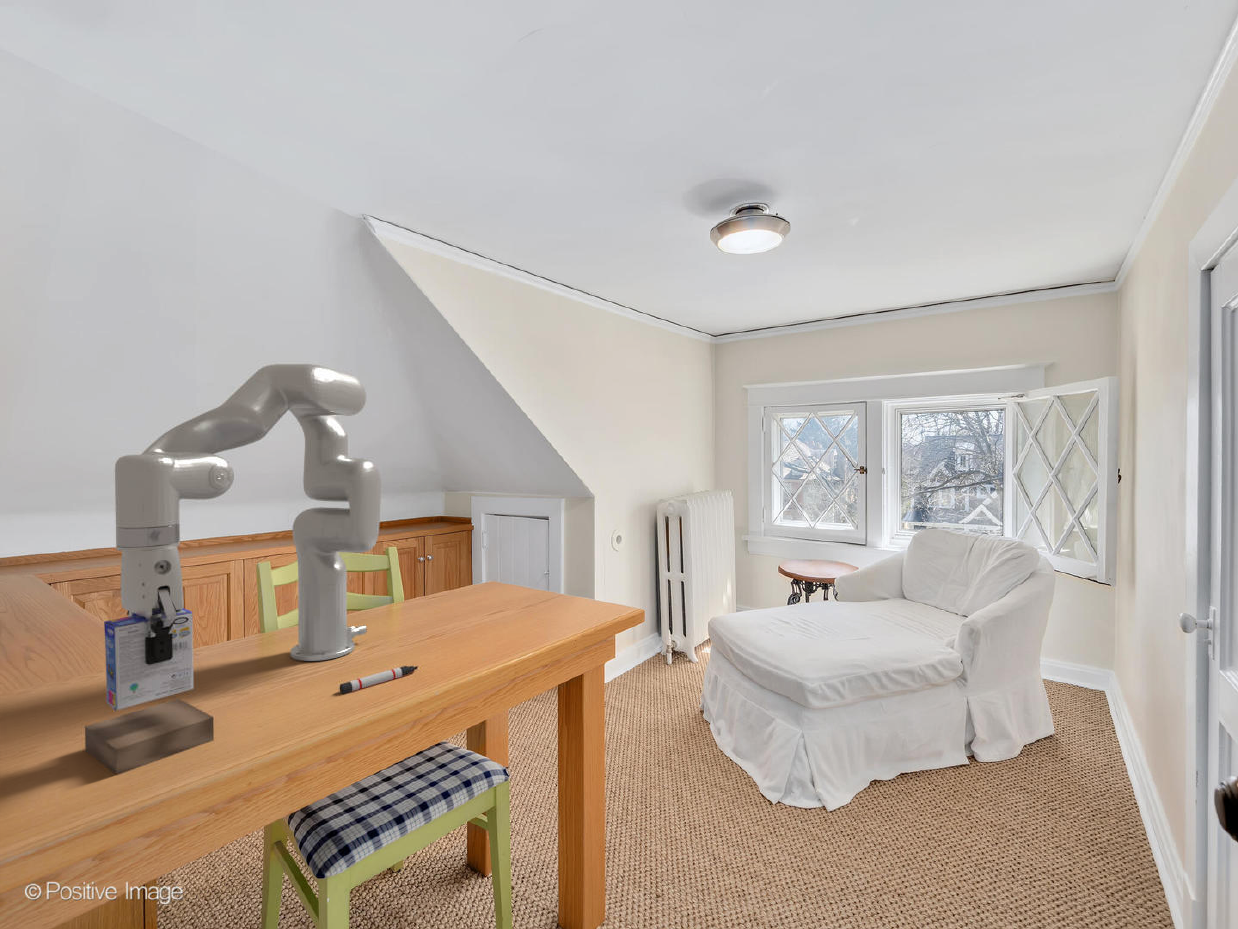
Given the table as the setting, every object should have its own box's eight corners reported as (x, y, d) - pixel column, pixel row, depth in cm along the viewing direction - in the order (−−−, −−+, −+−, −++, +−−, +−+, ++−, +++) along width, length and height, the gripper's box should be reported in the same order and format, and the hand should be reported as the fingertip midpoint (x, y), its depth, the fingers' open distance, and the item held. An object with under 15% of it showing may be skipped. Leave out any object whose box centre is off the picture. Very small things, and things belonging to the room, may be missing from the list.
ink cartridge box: (181, 681, 97) (181, 591, 97) (196, 689, 94) (195, 596, 93) (103, 702, 89) (101, 604, 88) (116, 712, 86) (114, 610, 85)
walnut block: (179, 722, 100) (178, 698, 100) (213, 742, 93) (213, 717, 93) (85, 753, 90) (84, 726, 90) (116, 778, 83) (116, 749, 83)
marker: (344, 696, 111) (344, 685, 111) (339, 693, 112) (339, 682, 112) (420, 673, 122) (420, 663, 122) (415, 671, 124) (415, 661, 124)
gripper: (203, 539, 89) (205, 662, 90) (154, 529, 99) (155, 640, 99) (141, 546, 83) (143, 678, 83) (95, 535, 92) (97, 653, 93)
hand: (150, 656), depth 91 cm, fingers closed on ink cartridge box, 5 cm apart
